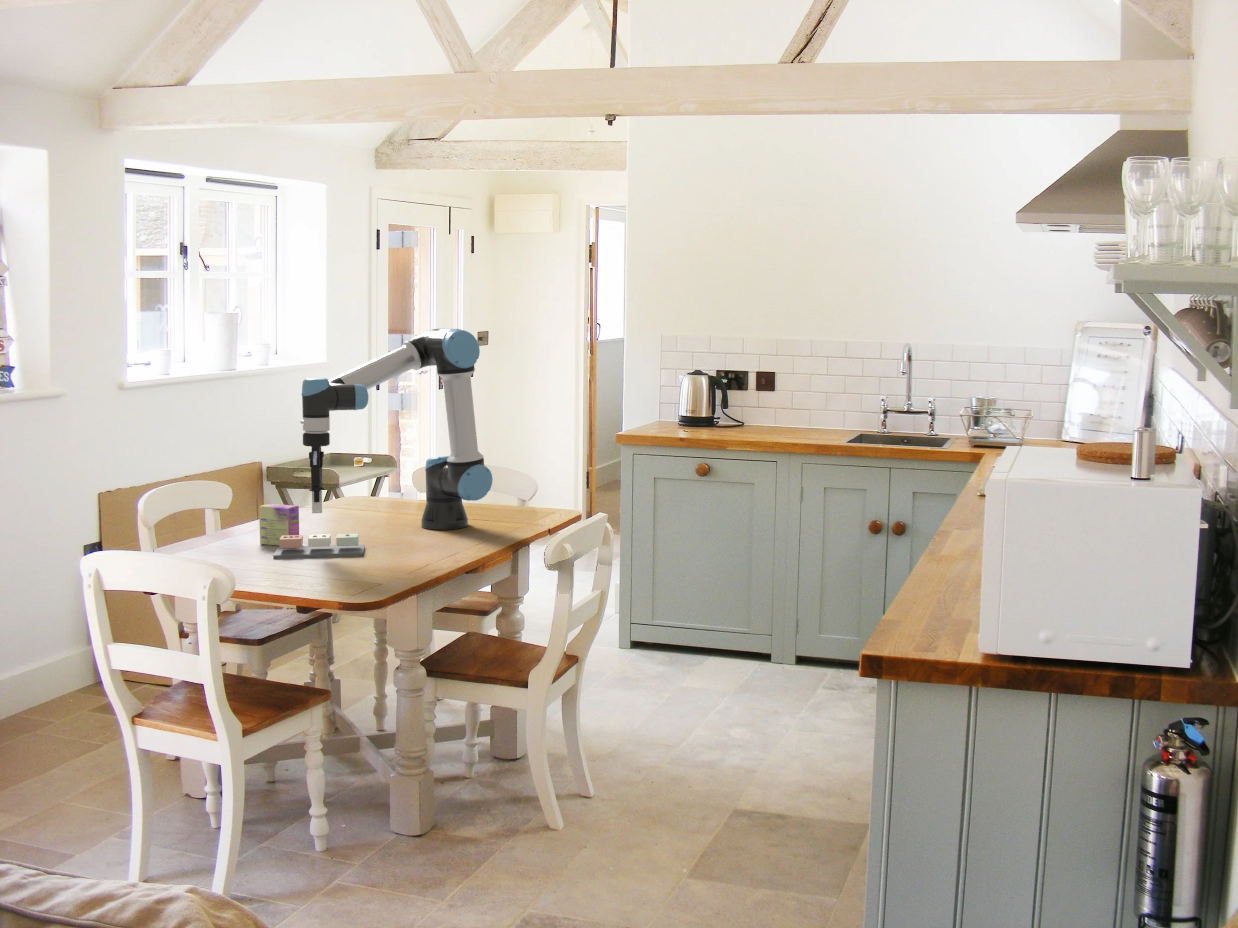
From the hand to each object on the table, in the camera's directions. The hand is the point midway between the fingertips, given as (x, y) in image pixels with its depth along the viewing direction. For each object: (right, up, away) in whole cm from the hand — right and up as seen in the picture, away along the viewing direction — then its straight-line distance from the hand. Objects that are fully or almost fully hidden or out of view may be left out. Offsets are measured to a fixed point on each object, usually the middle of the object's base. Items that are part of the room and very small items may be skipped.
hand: (317, 512), depth 347 cm
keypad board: (0, -12, +2) cm, 12 cm away
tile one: (+8, -9, +3) cm, 13 cm away
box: (-15, -10, +15) cm, 24 cm away
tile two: (0, -9, +2) cm, 10 cm away
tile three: (-8, -10, 0) cm, 12 cm away
